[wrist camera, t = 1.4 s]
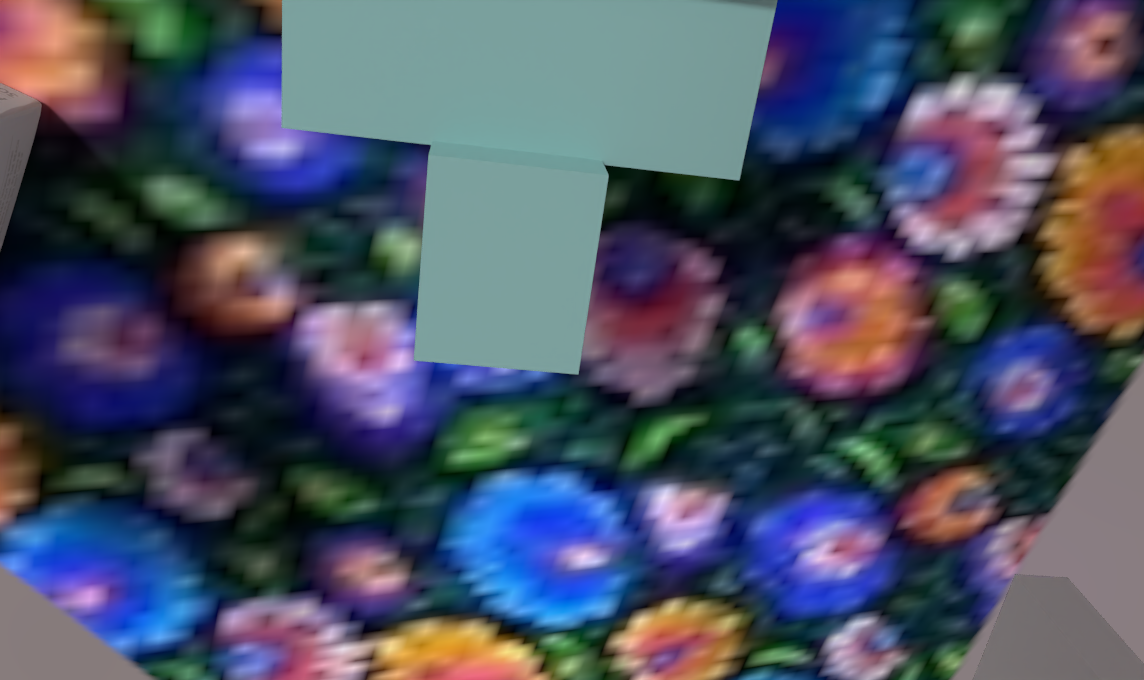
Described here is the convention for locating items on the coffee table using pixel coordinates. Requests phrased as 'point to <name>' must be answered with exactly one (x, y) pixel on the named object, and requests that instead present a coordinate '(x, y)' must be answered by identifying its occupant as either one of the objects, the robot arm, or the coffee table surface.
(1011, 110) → the coffee table surface
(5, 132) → the supplement box
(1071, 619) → the robot arm
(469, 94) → the lid
